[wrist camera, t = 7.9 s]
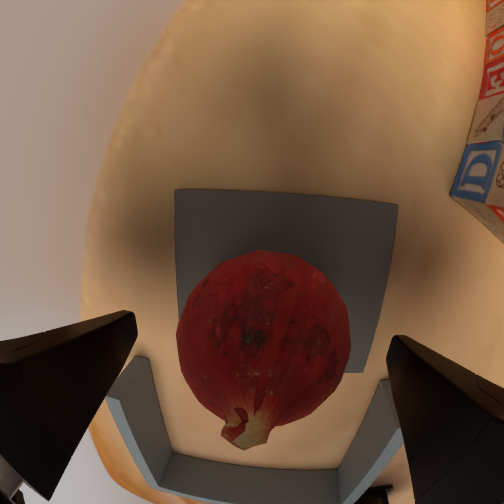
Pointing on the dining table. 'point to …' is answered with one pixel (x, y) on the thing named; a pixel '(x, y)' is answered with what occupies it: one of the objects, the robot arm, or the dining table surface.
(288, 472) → the u-shaped frame
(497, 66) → the stack of blocks
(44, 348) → the robot arm
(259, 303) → the onion
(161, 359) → the dining table surface
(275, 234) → the mat
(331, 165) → the dining table surface
